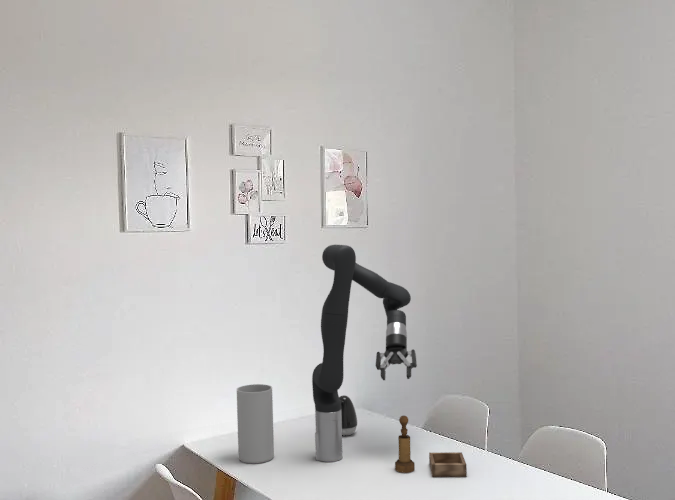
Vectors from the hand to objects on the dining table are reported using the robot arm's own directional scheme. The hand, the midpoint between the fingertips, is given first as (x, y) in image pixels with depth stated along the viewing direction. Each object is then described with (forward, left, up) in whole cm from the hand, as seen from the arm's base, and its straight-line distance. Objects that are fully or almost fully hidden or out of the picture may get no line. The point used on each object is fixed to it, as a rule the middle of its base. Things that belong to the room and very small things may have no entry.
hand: (395, 378), depth 238 cm
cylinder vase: (-50, +1, -28) cm, 57 cm away
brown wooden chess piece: (+2, -11, -28) cm, 30 cm away
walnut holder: (+16, -12, -28) cm, 34 cm away
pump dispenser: (-20, +29, -28) cm, 46 cm away
